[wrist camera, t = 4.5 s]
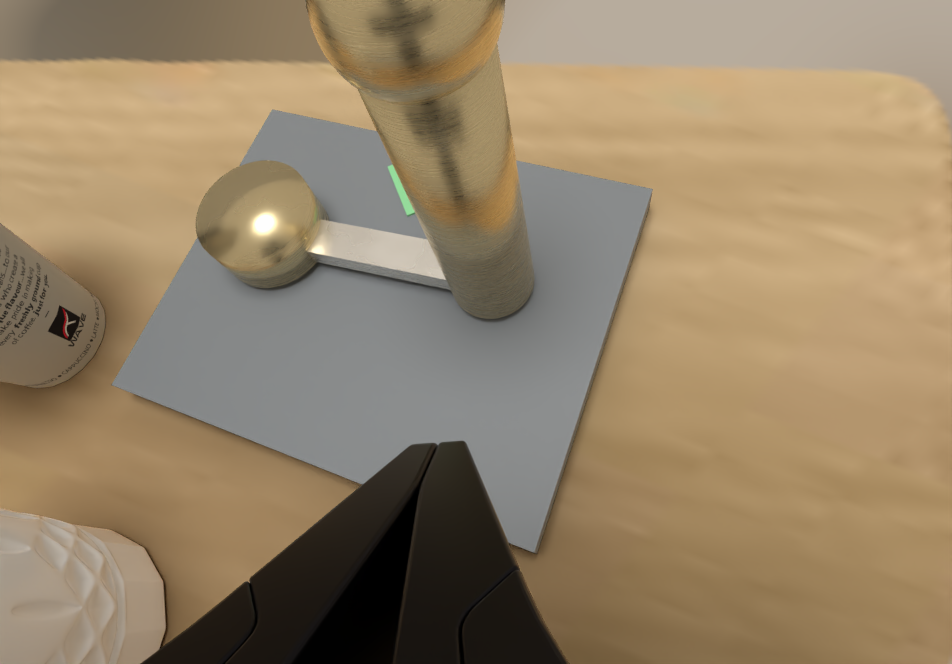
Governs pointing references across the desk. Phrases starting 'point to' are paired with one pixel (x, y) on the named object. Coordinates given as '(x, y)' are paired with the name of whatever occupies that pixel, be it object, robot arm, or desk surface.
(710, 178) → the desk surface
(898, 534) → the desk surface
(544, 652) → the robot arm
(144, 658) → the white cup
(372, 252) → the brass crank handle
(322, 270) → the gray board
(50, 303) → the coffee cup
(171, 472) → the desk surface
